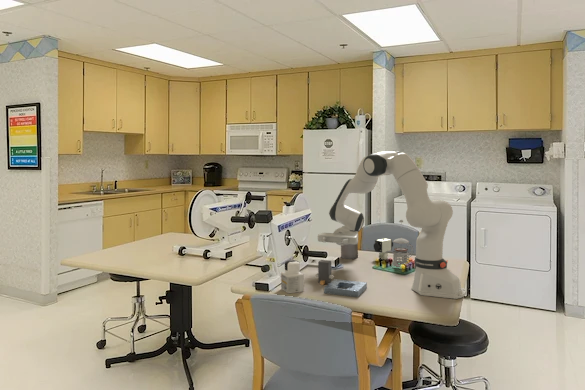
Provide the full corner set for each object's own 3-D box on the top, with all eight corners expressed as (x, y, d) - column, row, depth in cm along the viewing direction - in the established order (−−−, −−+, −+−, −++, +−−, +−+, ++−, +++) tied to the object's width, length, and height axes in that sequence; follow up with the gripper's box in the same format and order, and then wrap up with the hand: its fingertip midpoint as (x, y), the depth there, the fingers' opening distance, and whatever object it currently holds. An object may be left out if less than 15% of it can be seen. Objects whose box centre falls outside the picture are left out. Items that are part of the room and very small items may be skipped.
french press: (387, 265, 244) (388, 218, 242) (407, 264, 247) (408, 217, 245) (396, 270, 235) (397, 221, 232) (417, 268, 237) (417, 220, 235)
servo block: (318, 280, 218) (318, 259, 217) (334, 282, 214) (334, 261, 213) (313, 283, 212) (313, 262, 211) (330, 285, 209) (330, 264, 208)
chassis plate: (334, 284, 211) (334, 279, 210) (366, 288, 205) (366, 282, 204) (324, 293, 198) (324, 287, 198) (358, 297, 192) (358, 291, 192)
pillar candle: (350, 254, 271) (350, 229, 270) (361, 257, 263) (361, 231, 262) (337, 256, 266) (337, 231, 265) (348, 260, 258) (347, 233, 257)
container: (281, 289, 205) (280, 260, 203) (297, 286, 208) (296, 258, 206) (287, 293, 198) (287, 264, 196) (304, 291, 201) (303, 262, 199)
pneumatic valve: (393, 258, 261) (393, 237, 260) (379, 261, 254) (379, 239, 253) (385, 256, 265) (386, 235, 264) (371, 259, 258) (372, 238, 257)
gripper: (322, 229, 240) (313, 233, 227) (361, 231, 232) (353, 236, 219) (322, 240, 241) (313, 246, 228) (360, 243, 232) (353, 249, 220)
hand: (333, 241), depth 223 cm, fingers open, 8 cm apart
